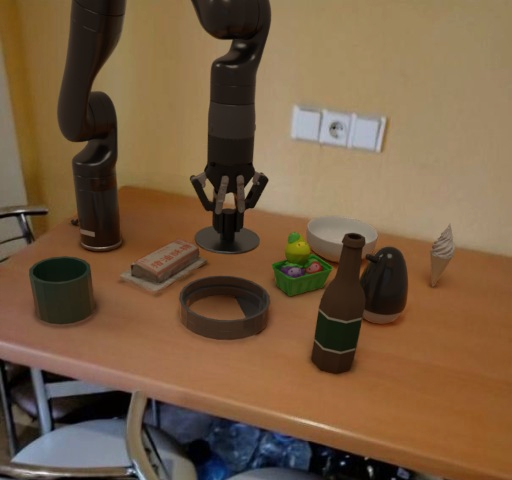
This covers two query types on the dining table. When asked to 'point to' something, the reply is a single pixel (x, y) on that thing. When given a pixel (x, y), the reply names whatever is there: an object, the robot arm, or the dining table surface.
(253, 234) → the lid
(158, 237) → the dining table surface
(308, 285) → the fruit basket
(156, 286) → the packaged product
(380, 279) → the penguin figurine
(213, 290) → the pan
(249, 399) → the dining table surface
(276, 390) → the dining table surface
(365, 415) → the dining table surface
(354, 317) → the beer bottle
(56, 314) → the pot
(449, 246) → the ice cream cone
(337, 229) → the cereal bowl
